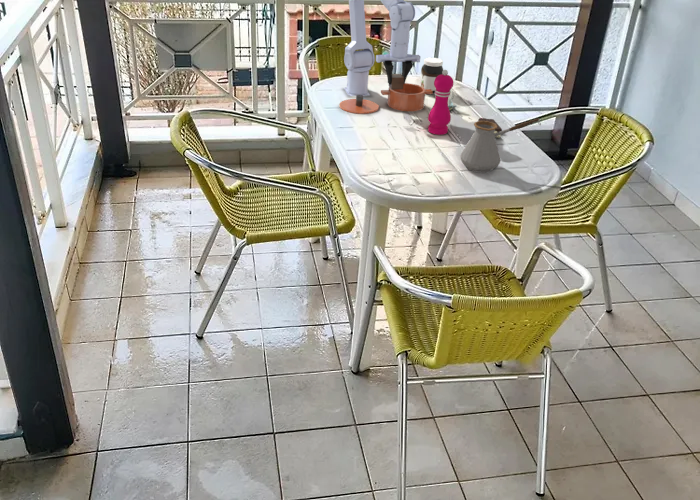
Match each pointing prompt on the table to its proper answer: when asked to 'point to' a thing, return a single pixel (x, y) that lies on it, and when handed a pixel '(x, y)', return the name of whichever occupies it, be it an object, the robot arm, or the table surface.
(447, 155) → the table surface
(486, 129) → the coffee pot
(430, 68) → the spread jar
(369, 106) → the lid
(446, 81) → the pepper mill
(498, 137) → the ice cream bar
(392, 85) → the block
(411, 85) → the pot
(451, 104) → the pacifier
